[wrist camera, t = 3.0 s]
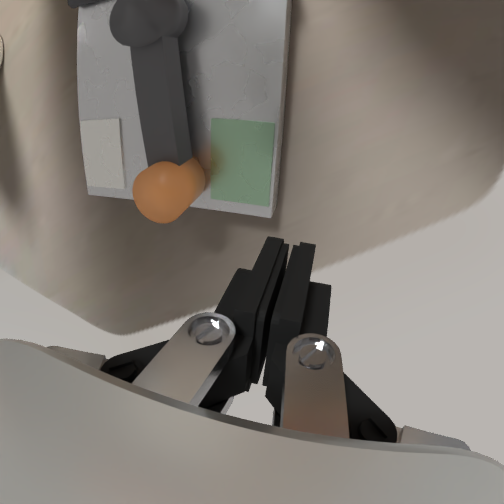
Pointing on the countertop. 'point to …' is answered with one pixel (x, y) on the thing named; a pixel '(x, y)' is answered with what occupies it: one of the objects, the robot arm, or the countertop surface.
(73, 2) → the cord bundle
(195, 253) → the countertop surface
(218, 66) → the panel
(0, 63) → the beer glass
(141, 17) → the breaker lever
